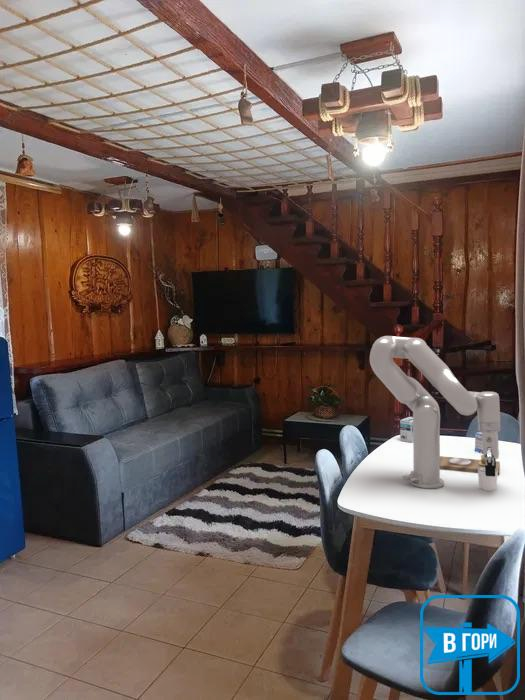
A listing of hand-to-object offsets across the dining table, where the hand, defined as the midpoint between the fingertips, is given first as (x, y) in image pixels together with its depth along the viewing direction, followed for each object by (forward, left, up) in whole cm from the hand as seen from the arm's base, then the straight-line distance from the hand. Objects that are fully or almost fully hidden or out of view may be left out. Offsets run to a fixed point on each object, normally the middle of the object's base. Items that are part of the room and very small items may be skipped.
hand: (490, 471), depth 192 cm
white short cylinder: (-1, +1, -6) cm, 6 cm away
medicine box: (+32, +38, -6) cm, 50 cm away
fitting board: (+10, +24, -6) cm, 26 cm away
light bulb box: (+16, +71, -6) cm, 73 cm away
